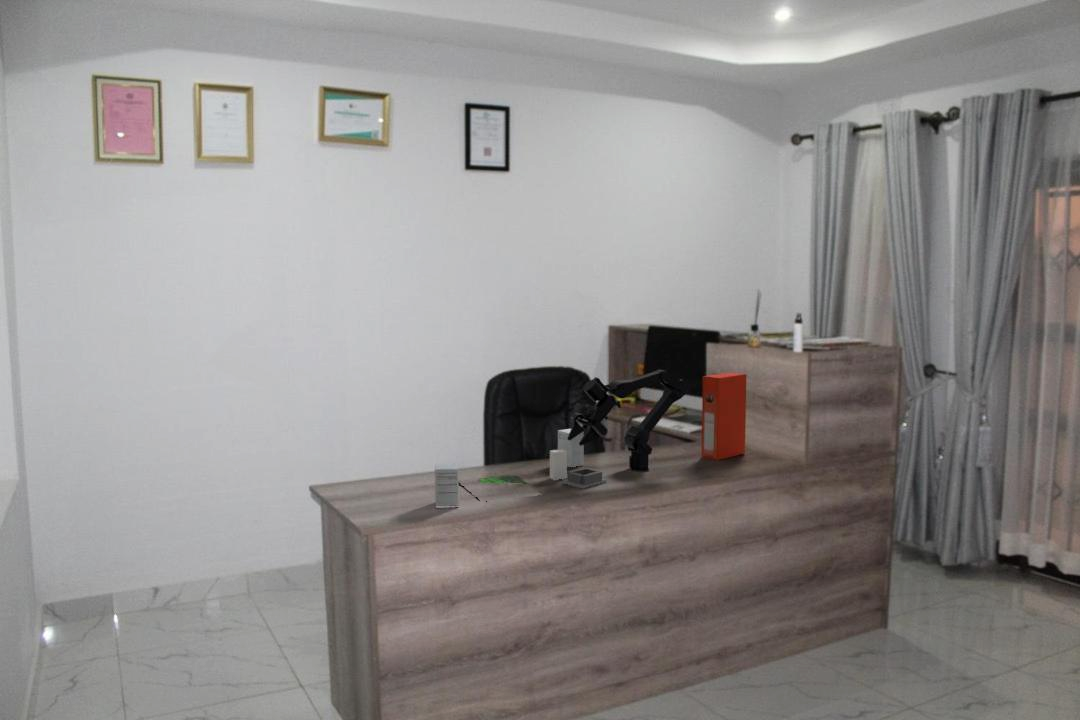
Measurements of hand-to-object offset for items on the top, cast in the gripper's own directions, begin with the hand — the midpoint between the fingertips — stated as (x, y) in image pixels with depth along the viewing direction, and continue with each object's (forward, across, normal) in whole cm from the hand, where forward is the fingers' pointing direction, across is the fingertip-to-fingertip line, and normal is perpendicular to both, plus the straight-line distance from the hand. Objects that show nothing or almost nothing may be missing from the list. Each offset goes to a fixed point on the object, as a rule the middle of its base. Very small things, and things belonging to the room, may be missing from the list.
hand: (573, 442), depth 306 cm
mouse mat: (+31, +4, -12) cm, 33 cm away
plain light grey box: (+13, 0, +5) cm, 14 cm away
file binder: (-40, -5, +57) cm, 70 cm away
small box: (+4, -16, +14) cm, 22 cm away
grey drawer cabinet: (+46, +15, -28) cm, 56 cm away
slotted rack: (+9, +9, +9) cm, 16 cm away
